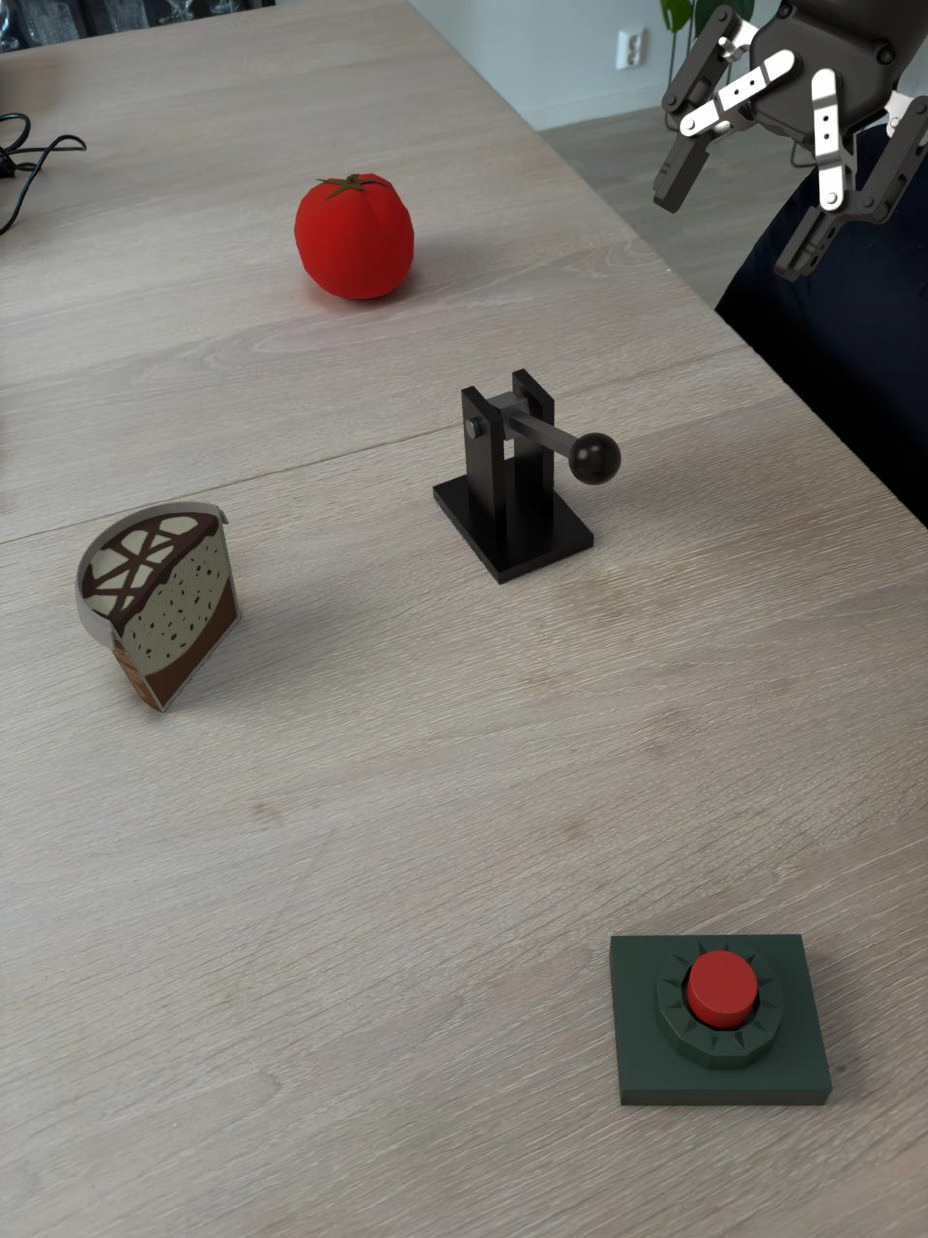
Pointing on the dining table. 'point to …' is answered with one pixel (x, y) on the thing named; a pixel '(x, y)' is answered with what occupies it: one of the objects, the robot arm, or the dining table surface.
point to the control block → (704, 1054)
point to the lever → (560, 440)
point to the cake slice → (159, 594)
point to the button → (721, 989)
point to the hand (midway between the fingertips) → (721, 241)
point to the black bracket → (510, 491)
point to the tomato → (355, 236)
